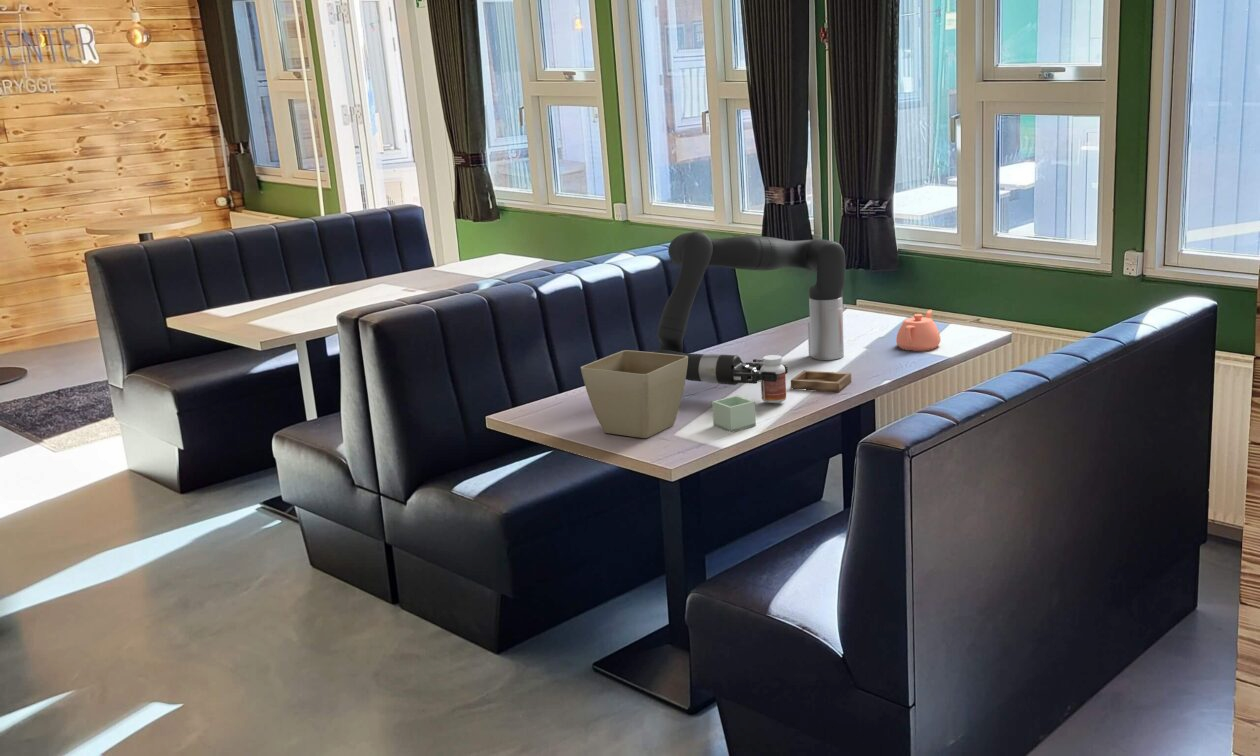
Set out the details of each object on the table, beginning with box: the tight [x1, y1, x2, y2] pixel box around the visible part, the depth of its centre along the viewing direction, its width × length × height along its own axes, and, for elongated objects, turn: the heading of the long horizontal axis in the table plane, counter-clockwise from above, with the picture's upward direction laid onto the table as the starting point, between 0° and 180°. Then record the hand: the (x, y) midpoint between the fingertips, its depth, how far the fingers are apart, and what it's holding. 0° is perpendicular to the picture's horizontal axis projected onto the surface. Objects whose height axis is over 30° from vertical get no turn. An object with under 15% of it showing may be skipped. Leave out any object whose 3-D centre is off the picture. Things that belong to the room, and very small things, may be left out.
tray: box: [790, 369, 852, 393], centre depth 320 cm, size 13×10×2 cm
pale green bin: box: [711, 395, 757, 433], centre depth 291 cm, size 7×7×6 cm
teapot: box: [895, 309, 941, 352], centre depth 352 cm, size 12×18×10 cm
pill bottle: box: [760, 354, 787, 404], centre depth 306 cm, size 6×6×11 cm
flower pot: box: [580, 349, 688, 439], centre depth 292 cm, size 19×19×17 cm
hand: (781, 373), depth 304 cm, fingers closed on pill bottle, 6 cm apart
